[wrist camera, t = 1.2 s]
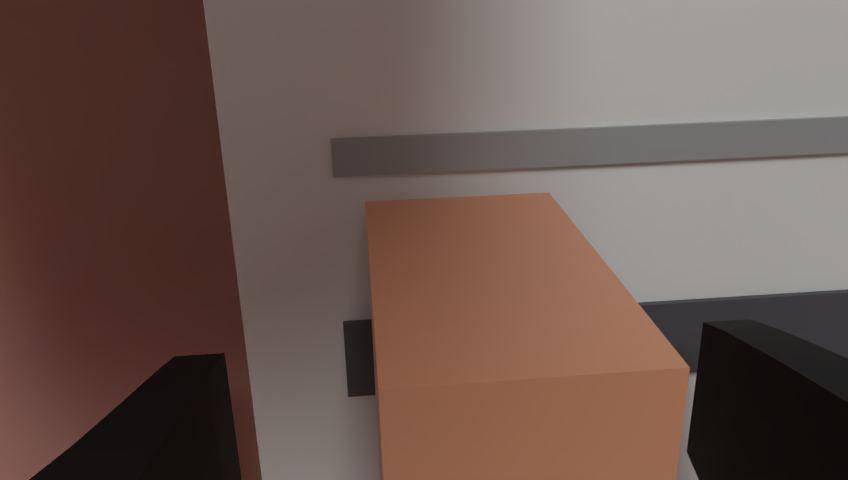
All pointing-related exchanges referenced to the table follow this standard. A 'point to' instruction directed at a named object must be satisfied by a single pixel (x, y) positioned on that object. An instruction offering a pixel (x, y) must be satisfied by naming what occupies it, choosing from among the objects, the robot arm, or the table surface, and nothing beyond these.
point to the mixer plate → (524, 171)
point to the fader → (512, 348)
